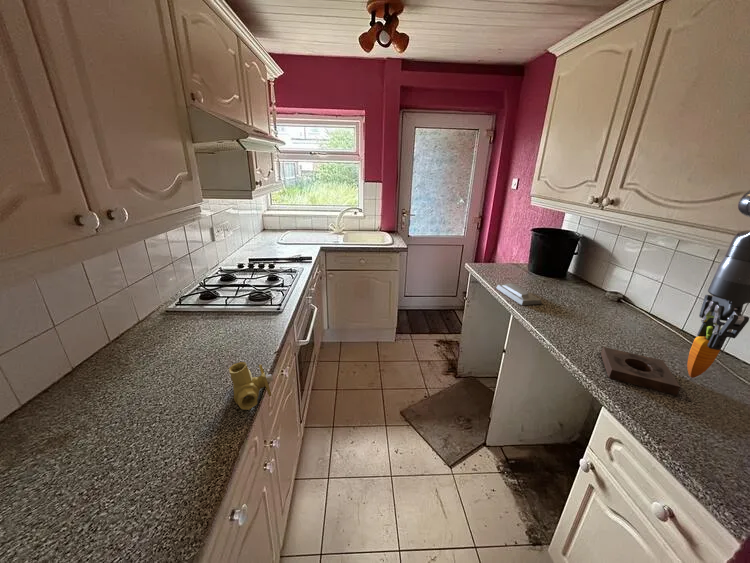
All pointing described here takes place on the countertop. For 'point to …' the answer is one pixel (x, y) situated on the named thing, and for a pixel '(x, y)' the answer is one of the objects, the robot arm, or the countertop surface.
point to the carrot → (701, 355)
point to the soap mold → (518, 294)
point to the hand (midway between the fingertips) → (708, 342)
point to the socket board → (651, 370)
